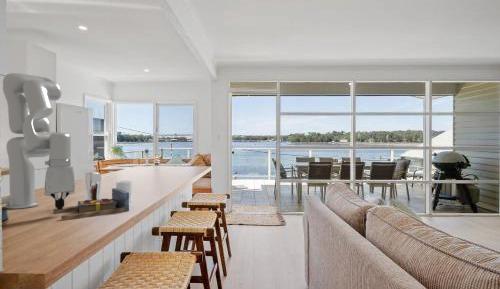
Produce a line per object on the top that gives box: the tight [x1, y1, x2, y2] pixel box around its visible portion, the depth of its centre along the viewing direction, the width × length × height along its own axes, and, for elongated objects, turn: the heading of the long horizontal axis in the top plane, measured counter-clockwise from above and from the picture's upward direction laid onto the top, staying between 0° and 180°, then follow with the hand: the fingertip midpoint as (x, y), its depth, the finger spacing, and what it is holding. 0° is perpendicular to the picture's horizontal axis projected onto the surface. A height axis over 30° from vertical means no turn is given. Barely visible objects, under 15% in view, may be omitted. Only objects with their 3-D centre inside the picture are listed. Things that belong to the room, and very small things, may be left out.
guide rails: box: [53, 187, 130, 221], centre depth 143 cm, size 26×16×8 cm, turn 131°
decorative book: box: [77, 198, 119, 214], centre depth 145 cm, size 11×16×5 cm
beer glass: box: [84, 171, 102, 200], centre depth 158 cm, size 7×7×15 cm
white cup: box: [115, 180, 134, 203], centre depth 166 cm, size 8×8×10 cm
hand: (59, 208), depth 135 cm, fingers closed
